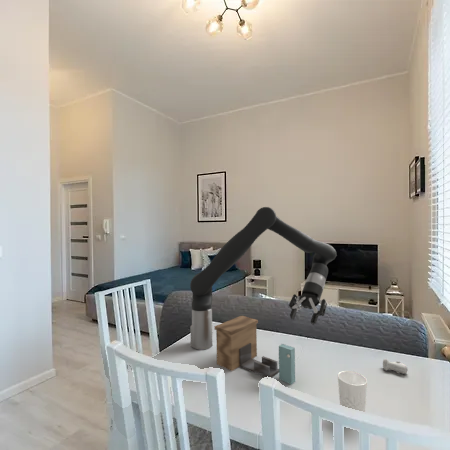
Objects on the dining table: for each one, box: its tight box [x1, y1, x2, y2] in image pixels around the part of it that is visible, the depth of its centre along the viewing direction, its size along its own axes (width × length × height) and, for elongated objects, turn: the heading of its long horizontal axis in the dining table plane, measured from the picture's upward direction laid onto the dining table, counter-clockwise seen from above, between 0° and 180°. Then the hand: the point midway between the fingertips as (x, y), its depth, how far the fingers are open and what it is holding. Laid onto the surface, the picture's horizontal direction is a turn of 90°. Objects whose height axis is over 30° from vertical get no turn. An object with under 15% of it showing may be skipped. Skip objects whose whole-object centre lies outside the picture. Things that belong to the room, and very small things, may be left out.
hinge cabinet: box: [214, 315, 279, 378], centre depth 112 cm, size 22×17×15 cm
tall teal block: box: [278, 343, 296, 385], centre depth 101 cm, size 5×3×12 cm
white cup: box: [337, 370, 368, 413], centre depth 84 cm, size 8×8×10 cm
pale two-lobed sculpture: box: [382, 357, 408, 375], centre depth 107 cm, size 4×8×5 cm
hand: (301, 321), depth 110 cm, fingers open, 8 cm apart
